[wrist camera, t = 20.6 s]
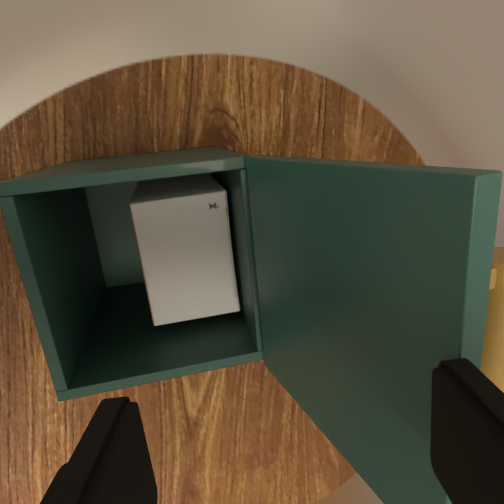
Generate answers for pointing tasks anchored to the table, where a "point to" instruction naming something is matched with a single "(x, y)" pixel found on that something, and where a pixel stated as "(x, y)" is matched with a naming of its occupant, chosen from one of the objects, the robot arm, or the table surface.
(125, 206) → the bin
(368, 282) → the lid
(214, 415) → the table surface
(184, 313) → the small box
